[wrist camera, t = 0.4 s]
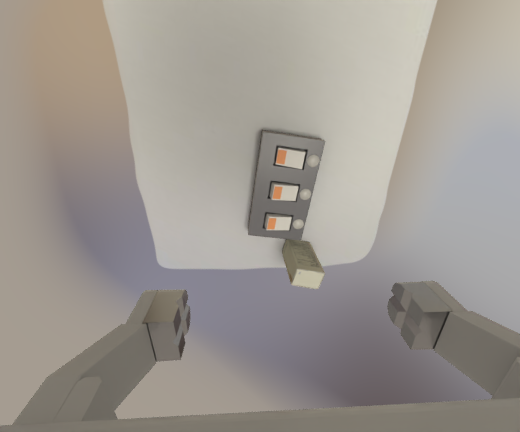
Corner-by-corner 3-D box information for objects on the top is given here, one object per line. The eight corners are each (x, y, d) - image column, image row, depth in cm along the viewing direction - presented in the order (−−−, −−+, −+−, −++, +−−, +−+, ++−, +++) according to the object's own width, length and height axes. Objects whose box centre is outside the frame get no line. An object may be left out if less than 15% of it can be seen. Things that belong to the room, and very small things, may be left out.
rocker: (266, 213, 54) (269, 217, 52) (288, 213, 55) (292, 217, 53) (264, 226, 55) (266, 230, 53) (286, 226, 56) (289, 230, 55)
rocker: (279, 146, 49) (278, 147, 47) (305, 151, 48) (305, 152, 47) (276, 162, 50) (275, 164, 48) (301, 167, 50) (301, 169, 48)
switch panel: (262, 129, 49) (263, 131, 46) (320, 138, 51) (325, 141, 47) (248, 227, 58) (248, 235, 55) (297, 233, 60) (300, 240, 56)
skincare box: (281, 252, 62) (289, 285, 51) (286, 237, 60) (295, 268, 49) (305, 257, 63) (318, 290, 52) (311, 242, 61) (326, 274, 50)
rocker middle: (271, 182, 51) (274, 185, 49) (295, 183, 52) (298, 186, 51) (269, 196, 52) (272, 200, 50) (292, 197, 54) (295, 201, 52)
